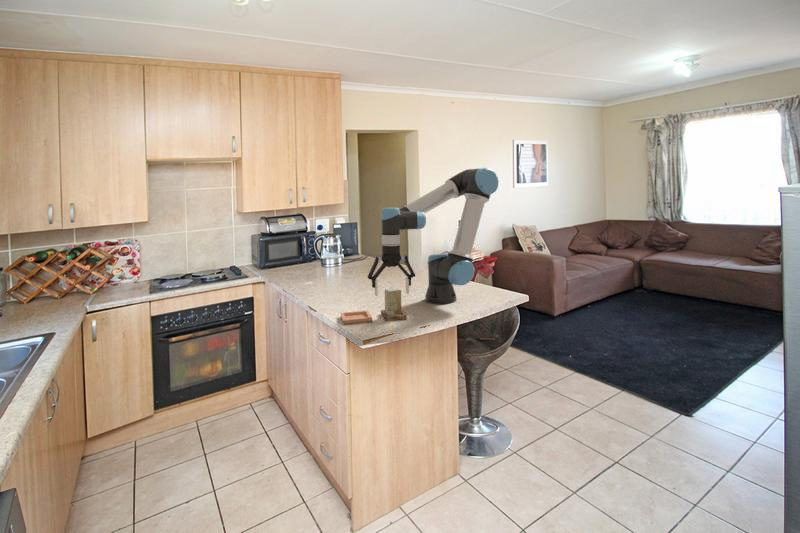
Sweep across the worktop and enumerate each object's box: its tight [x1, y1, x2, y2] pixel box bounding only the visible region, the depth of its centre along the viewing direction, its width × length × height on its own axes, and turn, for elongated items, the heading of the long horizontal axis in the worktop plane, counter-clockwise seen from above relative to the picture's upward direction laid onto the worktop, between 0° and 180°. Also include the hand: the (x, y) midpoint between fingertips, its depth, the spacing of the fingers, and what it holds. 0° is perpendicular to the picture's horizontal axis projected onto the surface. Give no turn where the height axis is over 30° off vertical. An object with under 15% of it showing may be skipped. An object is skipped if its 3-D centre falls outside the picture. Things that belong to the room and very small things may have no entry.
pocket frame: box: [380, 308, 408, 322], centre depth 187 cm, size 9×11×2 cm
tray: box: [340, 310, 373, 326], centre depth 185 cm, size 12×12×2 cm
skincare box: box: [384, 287, 402, 316], centre depth 186 cm, size 6×4×12 cm
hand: (391, 294), depth 185 cm, fingers open, 13 cm apart
